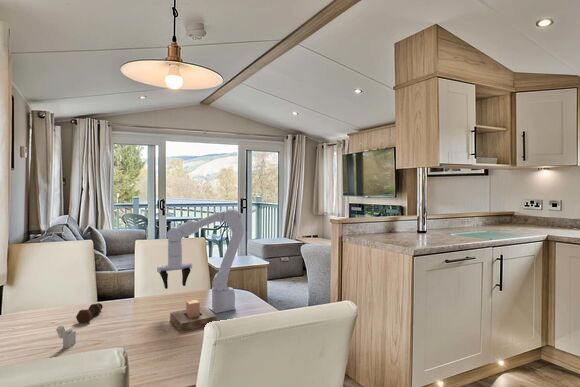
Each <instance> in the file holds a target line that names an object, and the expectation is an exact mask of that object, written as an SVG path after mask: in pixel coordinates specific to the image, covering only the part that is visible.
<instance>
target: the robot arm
mask: <svg viewBox="0 0 580 387" xmlns="http://www.w3.org/2000/svg"><path fill="white" fill-rule="evenodd" d="M216 222H219V223H225V224H226V225H227V226H228V227H229V228H230V230H231V232H232V235H231V237H230V239H229V242H228V245H227V248H226V251H225V253H224V256H223V259H222V261H221V264H220V267H219V268H218V271H217V272H216V273H215V274H214V277H213V279H212V281H211V284H212V285H211V287H212V288H211V306H209V307H208V310H209V311H211V312H212V313H214V314H218V313H224V312H228V311H232V310H233V311H234V310H236V304H235V303H236V294H235V290H234V288H233V287H230V286H228V281H229V273H230V271H231V268H232V265H233V262H234V260H235V258H236V254H237V252H238V249H239V246H240V244H241V241H242V238H243V235H244V233H245V228H244V225H243V220H242V216H241V215H240V213H239V211H238V210H237V209H235V208H229V209H228V208H227V209H226V210H222V211H221V210H220V211H216V212H215V213H213V214H211V215H208V216H206V217H204V218H202V219H199V220H195V219H188V220H186V222H184V223H182V224H176V226H173V227H172V228H170V229H168V231H167V232H166V239H167V241H168V242H167V265H163V266H158V267H157V268H156V271H157V272H156V273H159V275H160V277H161V279H162V282H163V285H164V289H165V290H166V289H168V287H169V284H168V283H169V282H168V280H169V278H168V277H169V273H168V272H172V271H177V270H181V274H182V276H181V277H182V279H181V280H182V283H181V285H182V286H183V287H186V284H187V281H188V278H189V275H190V273H191V269H193V264H192V263H189V262H188V263H183V248H182V247H183V244H182V238H187V237H189V236H191V235H193V234H196V233H199V230H200V228H203V227H206V226H208V225H210V224H214V223H216Z"/></svg>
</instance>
